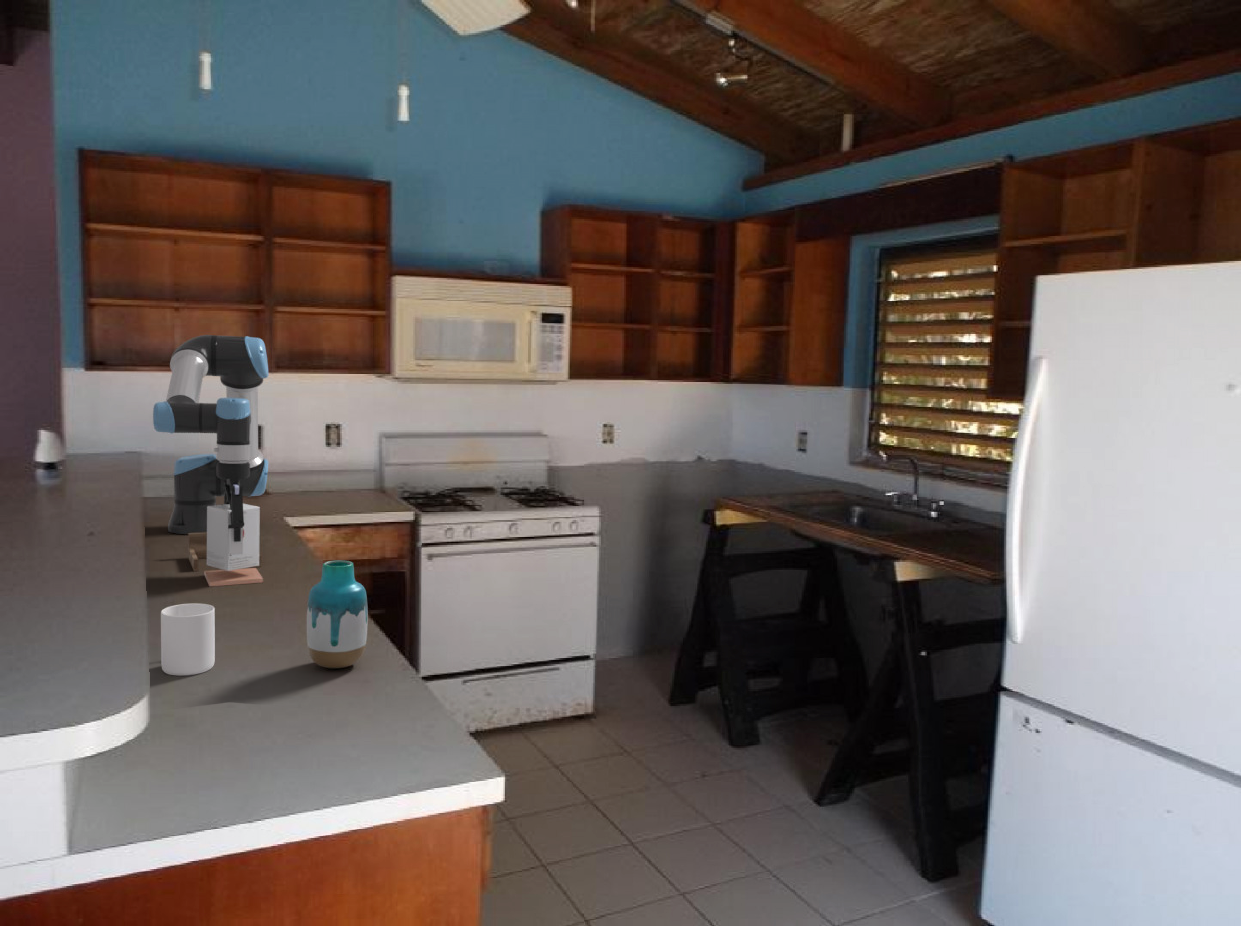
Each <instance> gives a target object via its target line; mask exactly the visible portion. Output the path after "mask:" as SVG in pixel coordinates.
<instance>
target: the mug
mask: <svg viewBox="0 0 1241 926" xmlns="http://www.w3.org/2000/svg"><path fill="white" fill-rule="evenodd" d="M215 609H216V608H215V606H214V605H211V604H208V603H207V604H206V603H198V602H197V603H181V604H176V605H170V606H167V607H165V608H163V609H162V610H161V611H160V656H161V657H160V658H161V659H160V661H161V663H160V664H161V669H162V671H163V672H164V673H165V674H166V675H171V676H177V677H178V676H179V677H180V676H181V677H183V676H193V675H198V674H202V673H206V672H208V671H210V670H211V669H212V668H213V667H214V665H215V661H216V660H215V658H216V655H215V654H216V653H215V652H216V649H215V647H216V645H215V644H216V642H215V641H216V640H215V638H216V636H215V635H216V633H215V627H216V626H215V624H216V623H215V621H216V620H215V619H216V618H215V616H216V615H215V614H216V613H215Z"/></svg>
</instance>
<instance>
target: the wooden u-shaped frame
mask: <svg viewBox="0 0 1241 926" xmlns="http://www.w3.org/2000/svg"><path fill="white" fill-rule="evenodd" d="M187 535H188V544H187V545H188V560H189V562H190V566H191V567H192V570H193V572H199V559H207V532H201V533H188V534H187ZM261 567H262V554H260V553H259V566H256V568H261Z"/></svg>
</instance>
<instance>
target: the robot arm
mask: <svg viewBox="0 0 1241 926" xmlns="http://www.w3.org/2000/svg"><path fill="white" fill-rule="evenodd" d="M266 349H267V348H266V344H265V342H264V340H263V339H261V338H260V337H253V336H248V335H247V336H236V335H235V336H234V335H214V334H203V335H198V336H195V337H192V338H190V339H188V340H186V341H184V342H183V343H182V344H180V345H179V346H178V347H177V348H176V349H175V350H174V352H173V353H172V355H171V356H170V357H171V358H170V363H169V367H170V371H171V377H170V381H169V385H168V390H167V393H166V399H165V401H162V402H161V401H157V402H155V403H154V404H153V411H152V423H153V428H154V430H155V431H156V432H158V433H167V434H169V433H170V434H216V447H215V448H213V452H215V453H216V454H214V453H203V454H202V453H201V454H194V455H188V456H182V457H179V458H178V459H176V460H175V462H174V468H173V470H174V471H173V477H174V480H173V481H174V482H173V483H174V484H173V485H174V486H173V491H174V492H173V495H174V506H173V510H172V512H171V515H170V519H169V520H168V524H167V525H168V526H167V530H168V532H169V533H172V534H177V535H188V533H201V532H207V506H213V505H217V497H224V498H223V504H230V510H232V511H231V525H228V529H230V555H239V554H243V527H244V516H243V504H244V500H243V499H244V498H243V497H249V498H250V497H256V496H262V495H264V493H265V491H266V487H267V482H268V472H269V460H268V459H267V458H264V454H263V452H261V450H259V402H258V401H259V399H258V398H259V396H258V395H259V394H258V393H259V392H258V391H259V387H260V386H262V384H263V383H264V379H267V378H268V377H269V364H268V356H267V350H266ZM204 377H219V378H220V383H221V385H223V386H224V387H225V390H226V391H225V393H226V397H220V398H218V399H217V401H216V403H214V402H213V403H211V402H209V403H208V402H207V403H206V402H205V403H203V402H200V396H201V390H202V385H203V384H202V383H203V378H204Z"/></svg>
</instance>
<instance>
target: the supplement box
mask: <svg viewBox="0 0 1241 926" xmlns="http://www.w3.org/2000/svg"><path fill="white" fill-rule="evenodd" d="M260 508H261V507H260V506H257V505H251V504H247V503H243V516H244V527H243V554H239V555H230V529H228V525H231V511H232V510H230V504H224V503H223V504H216V505H213V506H207V558H206V566H209V567H212V568H216V569H218V570H226V571H231V570H236V569H246V568H255V567H257V566H259V554H260V519H261V518H260V516H261V515H260V514H261V513H260V512H261V511H260Z"/></svg>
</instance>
